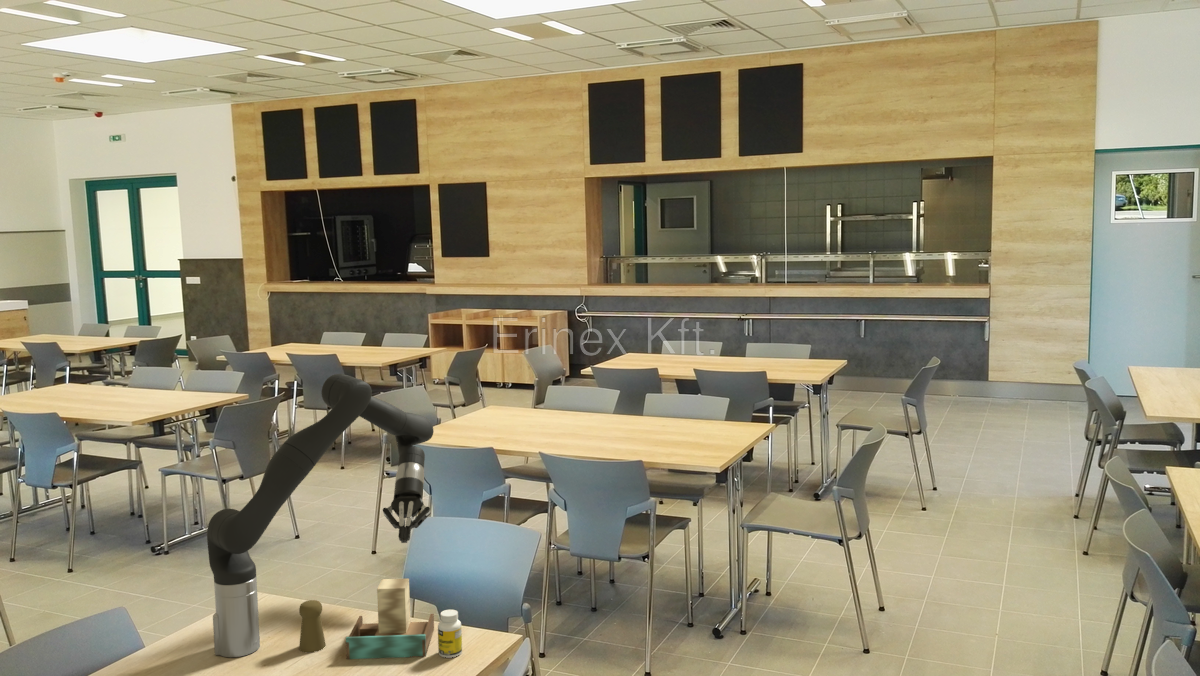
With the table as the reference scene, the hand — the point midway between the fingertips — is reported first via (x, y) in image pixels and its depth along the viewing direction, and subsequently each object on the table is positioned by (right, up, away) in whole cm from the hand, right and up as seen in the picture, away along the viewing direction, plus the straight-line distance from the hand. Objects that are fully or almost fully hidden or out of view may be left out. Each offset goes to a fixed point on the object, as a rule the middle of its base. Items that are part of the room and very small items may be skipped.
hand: (404, 541), depth 243 cm
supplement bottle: (+16, -20, -26) cm, 37 cm away
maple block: (+1, -17, -16) cm, 24 cm away
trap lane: (+1, -20, -20) cm, 28 cm away
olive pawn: (-17, -20, -22) cm, 34 cm away
